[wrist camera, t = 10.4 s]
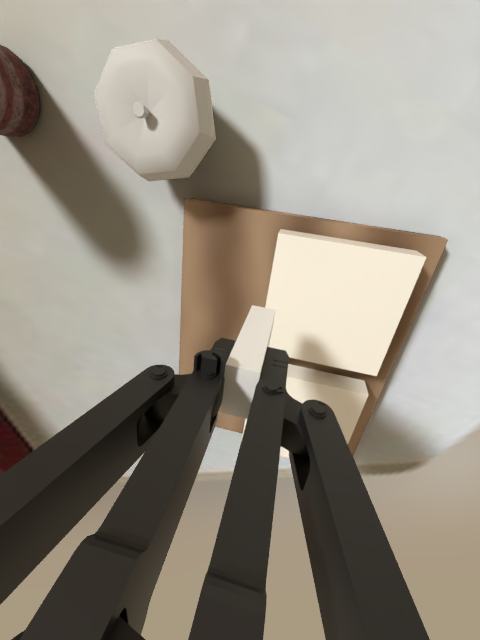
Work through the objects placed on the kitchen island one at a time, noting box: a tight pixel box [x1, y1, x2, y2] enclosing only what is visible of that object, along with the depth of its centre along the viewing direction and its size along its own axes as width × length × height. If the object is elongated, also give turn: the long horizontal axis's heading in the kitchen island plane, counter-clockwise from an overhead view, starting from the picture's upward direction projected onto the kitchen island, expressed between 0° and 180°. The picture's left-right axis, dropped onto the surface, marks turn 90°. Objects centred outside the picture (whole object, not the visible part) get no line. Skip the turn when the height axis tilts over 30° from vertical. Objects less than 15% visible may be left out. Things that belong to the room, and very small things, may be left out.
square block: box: [241, 364, 369, 458], centre depth 29 cm, size 2×10×10 cm
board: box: [179, 198, 448, 456], centre depth 28 cm, size 20×24×2 cm
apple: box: [94, 39, 216, 181], centre depth 20 cm, size 8×8×7 cm
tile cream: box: [265, 229, 426, 376], centre depth 23 cm, size 2×10×10 cm
